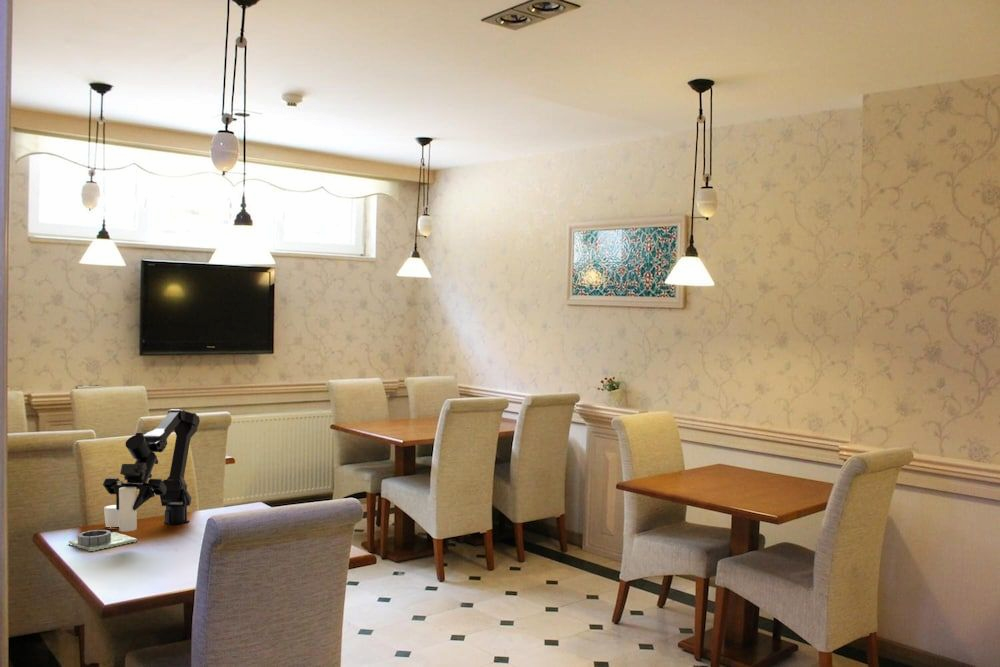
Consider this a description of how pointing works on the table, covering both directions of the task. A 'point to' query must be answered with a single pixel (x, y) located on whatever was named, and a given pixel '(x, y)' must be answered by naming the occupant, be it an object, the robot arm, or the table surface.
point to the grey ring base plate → (101, 539)
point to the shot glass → (111, 516)
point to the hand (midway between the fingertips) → (125, 509)
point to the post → (127, 509)
